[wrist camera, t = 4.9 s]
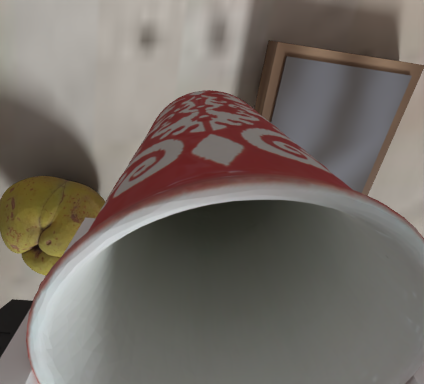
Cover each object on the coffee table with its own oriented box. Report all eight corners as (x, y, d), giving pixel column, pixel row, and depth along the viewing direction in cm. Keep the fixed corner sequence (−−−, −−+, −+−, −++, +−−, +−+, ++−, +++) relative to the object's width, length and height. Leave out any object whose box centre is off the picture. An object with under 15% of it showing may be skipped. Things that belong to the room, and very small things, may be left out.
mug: (111, 85, 16) (-88, 239, 4) (277, 57, 16) (517, 141, 4) (163, 260, 22) (136, 520, 11) (283, 241, 22) (391, 480, 11)
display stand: (236, 197, 38) (240, 215, 35) (268, 40, 30) (278, 42, 26) (340, 208, 40) (355, 227, 36) (399, 61, 31) (427, 65, 27)
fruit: (102, 150, 35) (70, 191, 26) (132, 231, 40) (113, 288, 32) (10, 165, 35) (-52, 211, 26) (52, 244, 41) (12, 303, 32)
